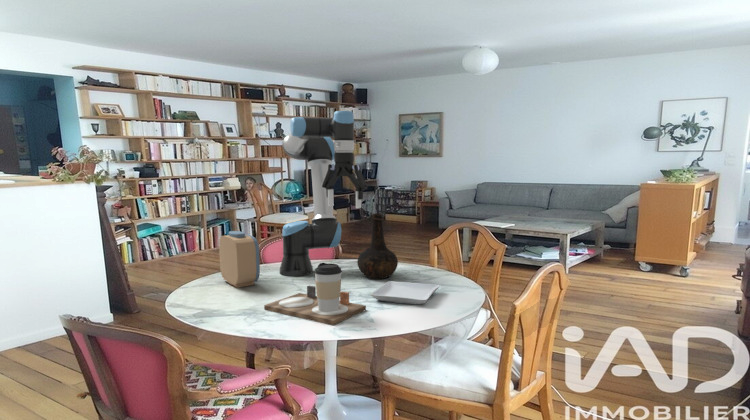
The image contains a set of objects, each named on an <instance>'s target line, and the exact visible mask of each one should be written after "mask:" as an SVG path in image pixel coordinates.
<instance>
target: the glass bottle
mask: <svg viewBox="0 0 750 420" xmlns="http://www.w3.org/2000/svg"><path fill="white" fill-rule="evenodd" d="M371 216H372V217H371V218H370V220H372V225H371V226H372V227H371V238H370V239H371V241H370V247H368V248H366V249H365V250H363V251H362V252H361V253H359V255H358V257H357V267H358V269H359V271H360V272H361V273H362V275H363V276H365V277H367V278H368V279H373V280H377V279H379V280H382V279H386V278H388V277H391V276H392V275H393V274H394V273H395V272H396V271H397V268H398V266H399V265H398V264H399V263H398V262H399V261H398V257H397V255H396V254H395V252H394V251H392V250H391V249H389V248H388V247H387V245H386V241H385V234H384V226H383V225H384V224H383V221H384V220H385V218H384V217H383V214H382V213H372V214H371Z"/></svg>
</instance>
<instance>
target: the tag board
mask: <svg viewBox="0 0 750 420" xmlns="http://www.w3.org/2000/svg"><path fill="white" fill-rule="evenodd" d="M263 307H264V310H266V311H268V312H269V311H270V312H274V313H279V314H283V315H288V316H292V317H296V318H300V319H304V320H309V321H312V322H313V321H314V322H318V323H323V324H327V325H331V326H335V325H337V324H339V323H341V322H343V321H345V320H348V319H349V318H352V317H354V316H356V315H359V314H360V313H362V312H364V310H365V311H366V309H367V306H366V305H364V304H361V303H360V304H358V303H354V302H350V292H348V291H340V299H339V309H338V310H336V311H332V312H323V311H319V310H318V299H317V293H316V285H315V286H314V285H306V293H303V292H299V293H296V294H292V295H289V296H286V297H284V298H281V299H278V300H275V301H272V302H269V303H266V304H264V305H263Z"/></svg>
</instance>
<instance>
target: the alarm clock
mask: <svg viewBox="0 0 750 420" xmlns="http://www.w3.org/2000/svg"><path fill="white" fill-rule="evenodd" d="M218 244H219V245H218V250H219V251H218V253H219V269H220V274H221V277H222V278H223V280H225V281H226V283H228V284H229V285H231V286H233V287H235V288H242V287H247V286H253V285H255V282H258V280H259V279H260V275H261V274H260V273H261V270H260V269H261V265H260V264H261V263H260V247H259V242H258V240H257V238H256V237H254V236H253V235H250V234H247V233H245V232H244V231H239V230H232V231H231V230H230V231H228V234H227V235H226V234H225V235H220V237H219V243H218Z"/></svg>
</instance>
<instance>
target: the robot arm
mask: <svg viewBox="0 0 750 420" xmlns="http://www.w3.org/2000/svg"><path fill="white" fill-rule="evenodd" d="M354 117H355V116H354V112H353V111H350V110H336V111H334V112H333V117H306V116H299V117H298V116H297V117H296V116H295V117H292V118H291V119H290V133H289V134H287V135H286V136H285V137H284V139H283V141H282V144H281V145H282V150H283V151H284V153H285V154H286V155H287V156H288V157H290V158H292V159H295V160H297V161H298V160H299V161H307V165H308V166H309V167H310V169H311V170H310V172H311V182H312V183H311V184H312V187H311V188H312V198H313V199H312V201H313V212H314V217H312V219H311V223H309V221H308V220H297V221H292V222H291V221H290V222H288V223H286V224H284V225H283V227H282V234H281V236H282V259H281V264H280V266H279V274H280V275H282V276H286V277H299V276H308V275H310V274H312V273H313V272H314V267H313V264H312V261H311V258H310V250H314V249H315V250H318V249H330V248H337V247H338V246H339V245H340V242H341V239H342V225H341V222H338V221H337V217H336V216H335V215H334V214H333V213H334V212H333V207H334V203H335V202H334V201H335V200H334V196H335V195H334V193H335V192H334V189H333V187H334V186H335V184H336V182H337V181H338V180H339V179H340V177H347V178H349V180H350V181H351V182H352V185H354V188H355V189H356V191H355V209H361V208H362V200H363V199H364V191H365V190H368V185H367V183H366V180H365V178H364V175H363V173H362V170H361V165H360V164H354V160H355V153H354V151H355V144H354V143H355V142H354V141H355V139H354V137H355V136H354V132H355V130H354V129H355V128H354V127H355V125H354V123H355V119H354ZM332 138H333V139H334V140H333V139H332ZM333 160H334V161H333ZM333 162H334V164H332V163H333Z"/></svg>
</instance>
